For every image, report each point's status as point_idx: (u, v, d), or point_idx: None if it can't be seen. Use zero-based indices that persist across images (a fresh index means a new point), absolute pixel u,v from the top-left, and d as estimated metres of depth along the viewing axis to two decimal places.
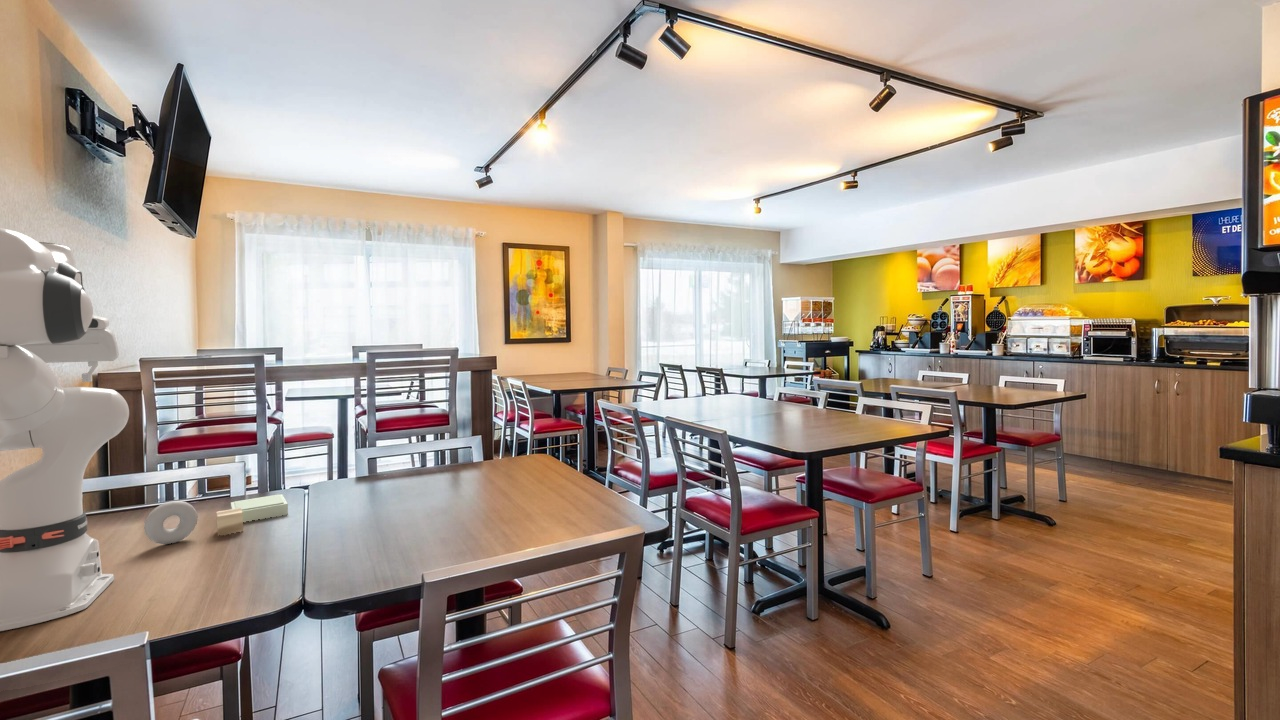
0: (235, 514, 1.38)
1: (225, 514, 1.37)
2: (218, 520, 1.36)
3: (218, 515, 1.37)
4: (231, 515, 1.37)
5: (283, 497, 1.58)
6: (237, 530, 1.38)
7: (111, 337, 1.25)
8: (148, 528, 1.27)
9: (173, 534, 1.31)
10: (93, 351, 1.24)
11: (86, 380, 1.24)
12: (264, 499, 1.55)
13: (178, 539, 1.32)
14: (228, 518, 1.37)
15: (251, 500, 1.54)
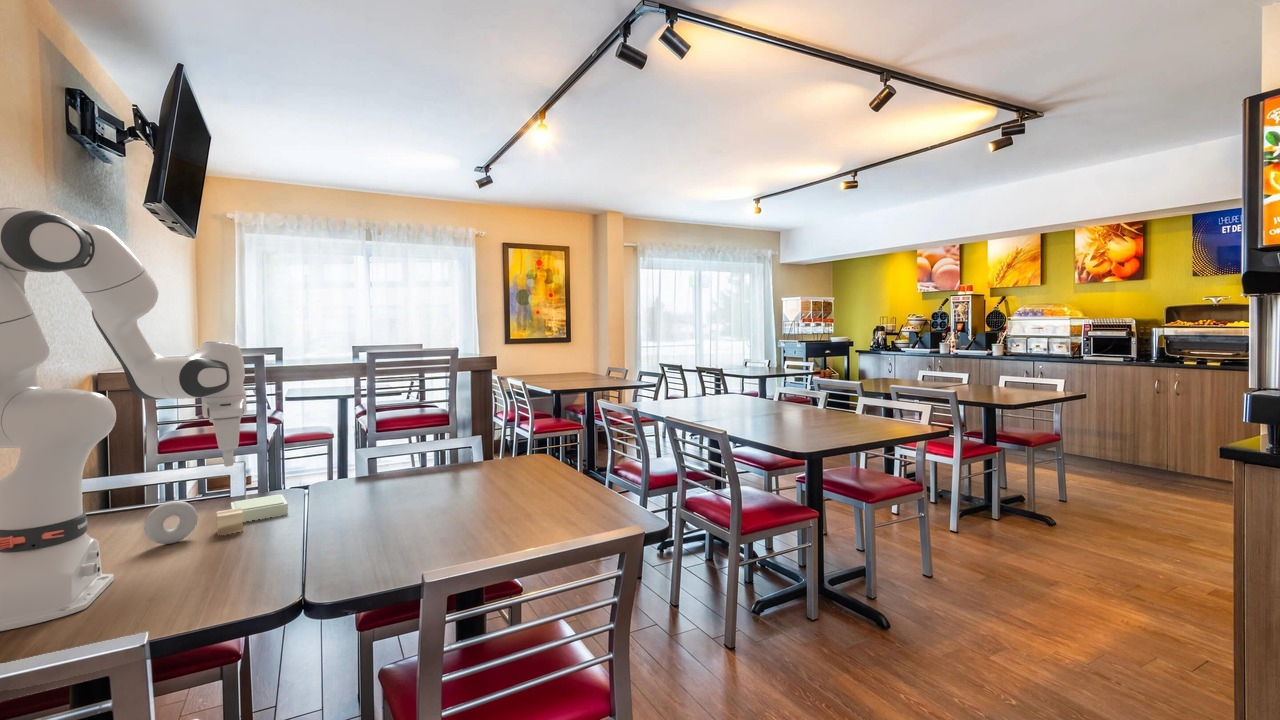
0: (235, 514, 1.38)
1: (225, 514, 1.37)
2: (218, 520, 1.36)
3: (218, 515, 1.37)
4: (231, 515, 1.37)
5: (283, 497, 1.58)
6: (237, 530, 1.38)
7: (215, 428, 1.30)
8: (148, 528, 1.27)
9: (173, 534, 1.31)
10: None
11: None
12: (264, 499, 1.55)
13: (178, 539, 1.32)
14: (228, 518, 1.37)
15: (251, 500, 1.54)
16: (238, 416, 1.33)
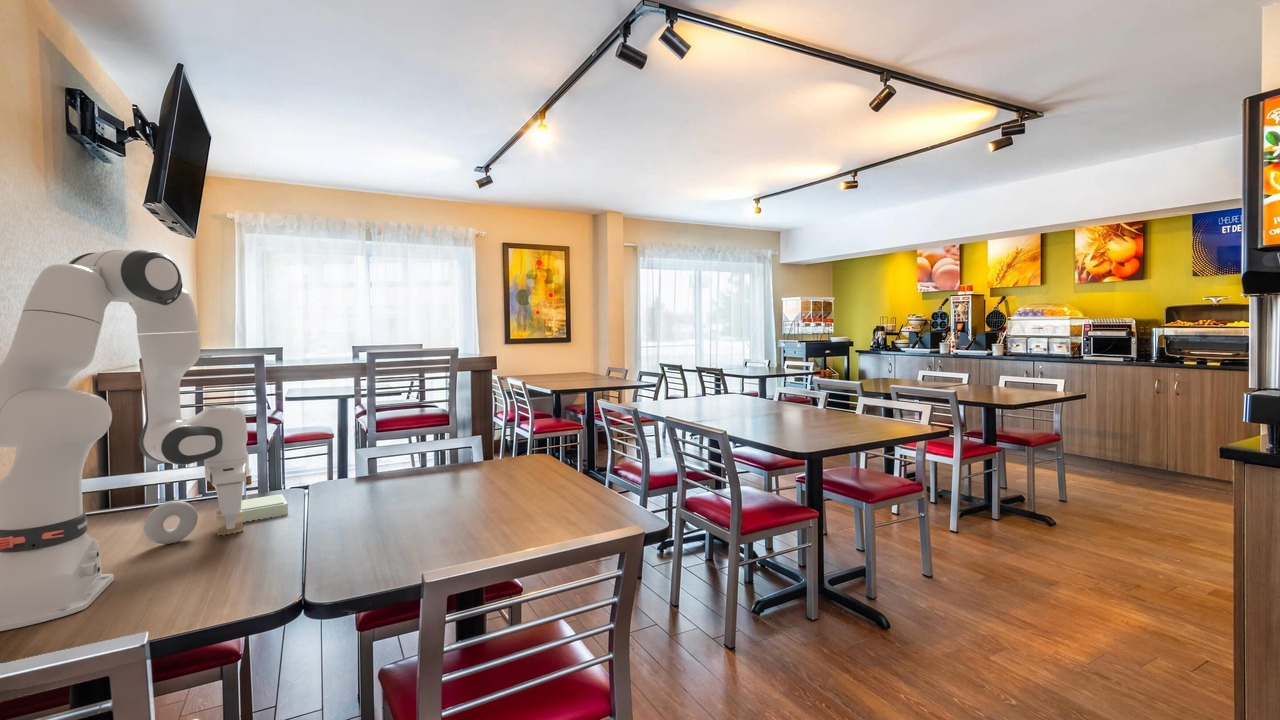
0: None
1: None
2: (218, 520, 1.36)
3: (218, 515, 1.37)
4: None
5: (283, 497, 1.58)
6: (237, 530, 1.38)
7: (218, 494, 1.30)
8: (148, 528, 1.27)
9: (173, 534, 1.31)
10: None
11: (226, 527, 1.36)
12: (264, 499, 1.55)
13: (178, 539, 1.32)
14: None
15: (251, 500, 1.54)
16: (241, 481, 1.34)
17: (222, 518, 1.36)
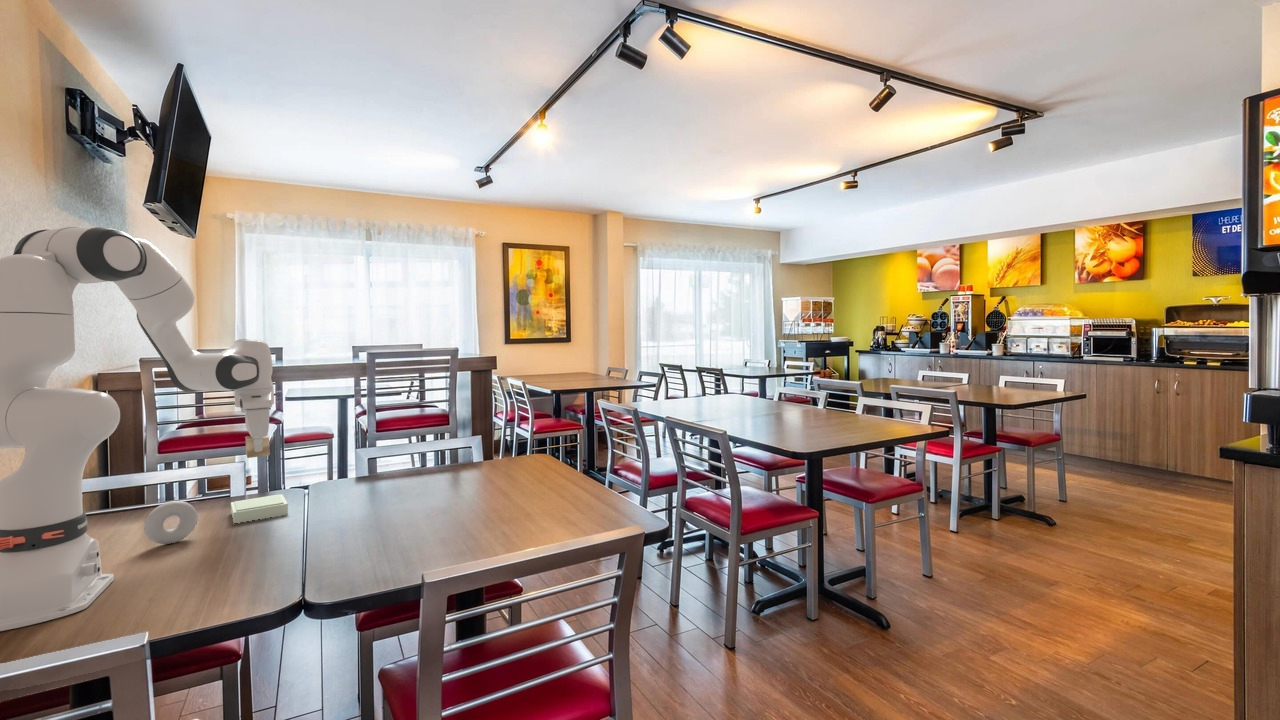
0: None
1: None
2: (247, 443, 1.49)
3: (247, 438, 1.50)
4: None
5: (283, 497, 1.58)
6: (264, 453, 1.51)
7: (247, 417, 1.43)
8: (148, 528, 1.27)
9: (173, 534, 1.31)
10: None
11: None
12: (264, 499, 1.55)
13: (178, 539, 1.32)
14: None
15: (251, 500, 1.54)
16: (268, 407, 1.47)
17: (251, 441, 1.50)
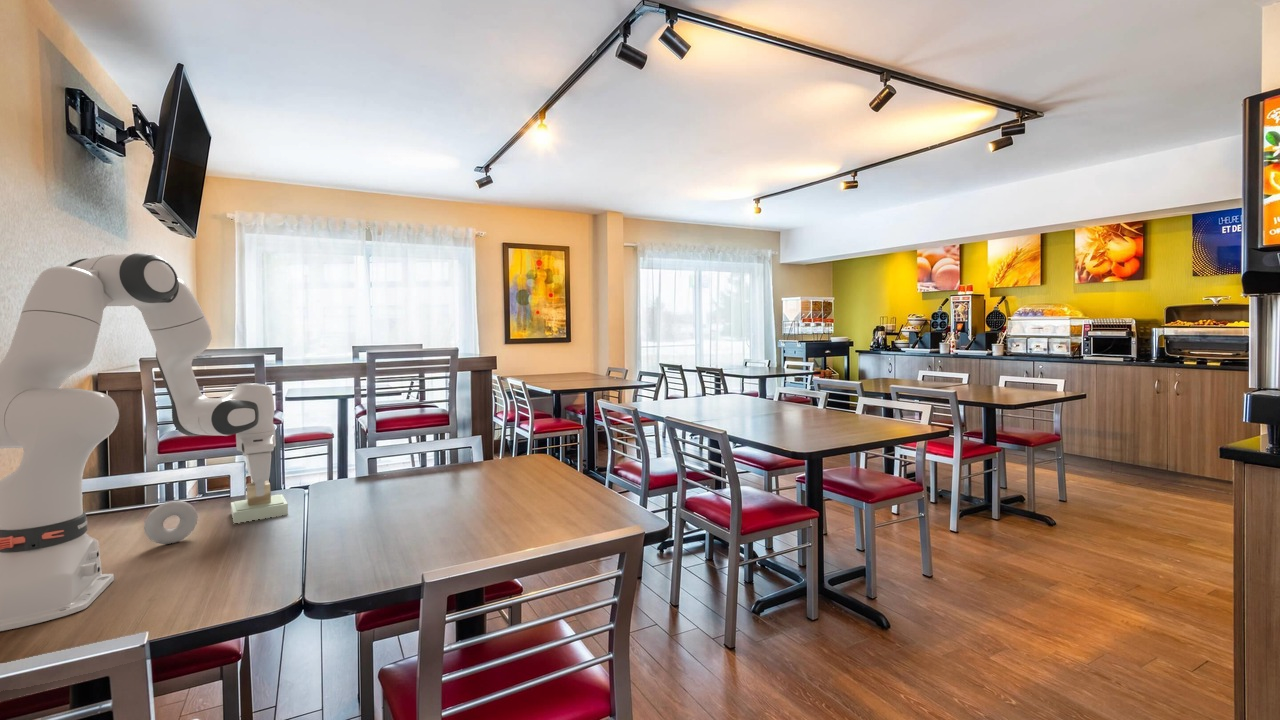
0: None
1: None
2: (249, 491, 1.49)
3: (248, 486, 1.50)
4: None
5: (283, 497, 1.58)
6: (265, 500, 1.52)
7: (249, 462, 1.44)
8: (148, 528, 1.27)
9: (173, 534, 1.31)
10: None
11: (256, 494, 1.49)
12: None
13: (178, 539, 1.32)
14: None
15: None
16: (269, 451, 1.47)
17: (252, 489, 1.50)
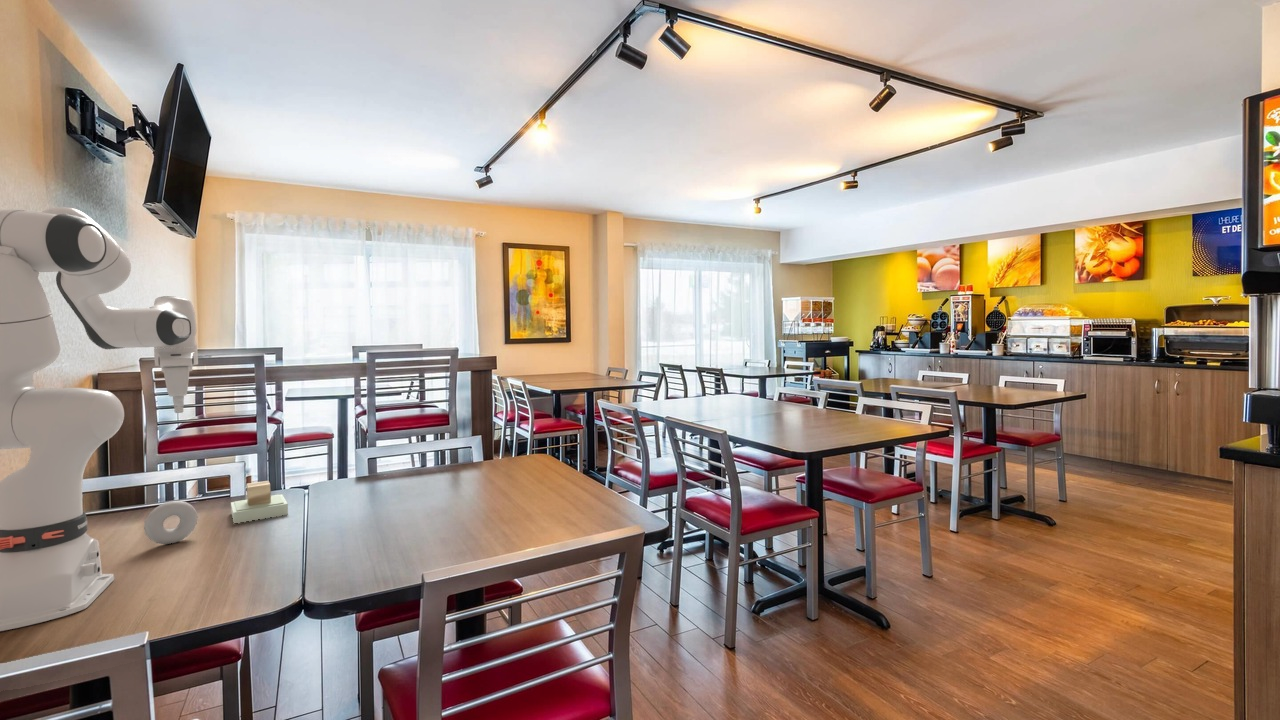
0: (264, 485, 1.52)
1: (255, 485, 1.51)
2: (249, 491, 1.49)
3: (248, 486, 1.50)
4: (260, 486, 1.51)
5: (283, 497, 1.58)
6: (265, 500, 1.52)
7: (165, 375, 1.39)
8: (148, 528, 1.27)
9: (173, 534, 1.31)
10: None
11: (174, 411, 1.44)
12: None
13: (178, 539, 1.32)
14: (257, 489, 1.51)
15: None
16: (187, 365, 1.43)
17: (252, 489, 1.50)
